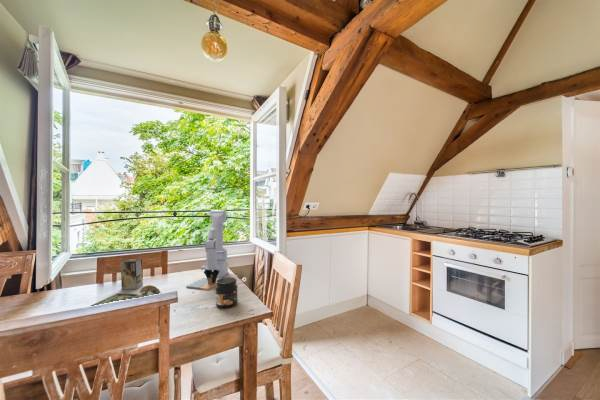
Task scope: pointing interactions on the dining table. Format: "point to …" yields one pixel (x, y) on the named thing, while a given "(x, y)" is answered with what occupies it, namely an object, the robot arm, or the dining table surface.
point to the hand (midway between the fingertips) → (212, 282)
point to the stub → (209, 284)
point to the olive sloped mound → (131, 295)
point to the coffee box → (131, 274)
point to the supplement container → (226, 292)
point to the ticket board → (198, 284)
